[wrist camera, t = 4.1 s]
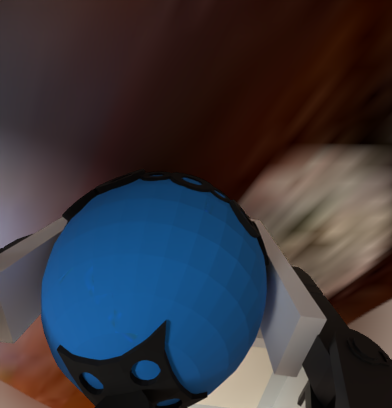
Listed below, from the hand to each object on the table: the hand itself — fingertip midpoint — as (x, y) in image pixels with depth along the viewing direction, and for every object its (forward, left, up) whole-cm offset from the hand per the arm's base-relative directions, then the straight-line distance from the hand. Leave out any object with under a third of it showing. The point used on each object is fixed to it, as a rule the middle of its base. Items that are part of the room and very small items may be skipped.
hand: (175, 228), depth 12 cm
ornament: (0, 0, -1) cm, 1 cm away
